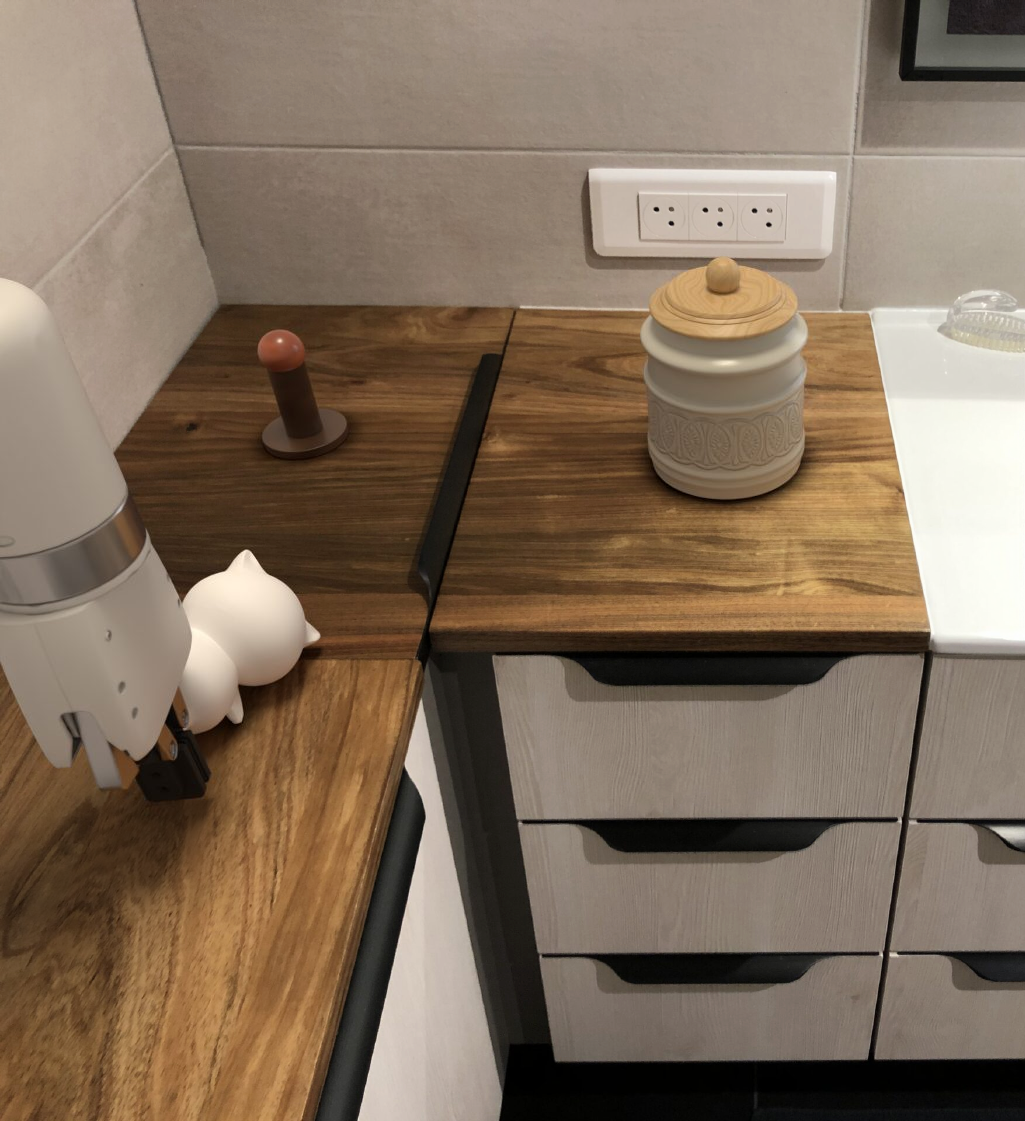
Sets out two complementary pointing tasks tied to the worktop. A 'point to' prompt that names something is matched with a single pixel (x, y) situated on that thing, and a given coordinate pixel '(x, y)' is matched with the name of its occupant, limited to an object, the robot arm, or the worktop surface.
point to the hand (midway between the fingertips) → (180, 788)
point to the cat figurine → (239, 639)
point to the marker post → (296, 403)
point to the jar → (725, 381)
